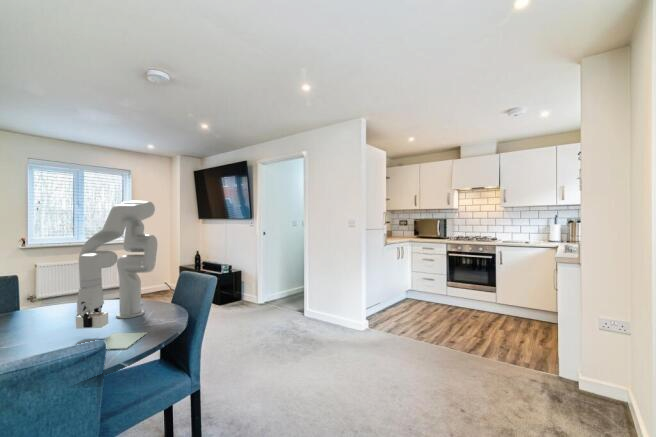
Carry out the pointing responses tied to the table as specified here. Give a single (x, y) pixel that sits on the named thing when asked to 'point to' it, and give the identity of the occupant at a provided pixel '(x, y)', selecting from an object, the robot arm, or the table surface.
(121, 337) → the mat
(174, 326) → the table surface
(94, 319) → the cream rectangular box
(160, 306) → the table surface
